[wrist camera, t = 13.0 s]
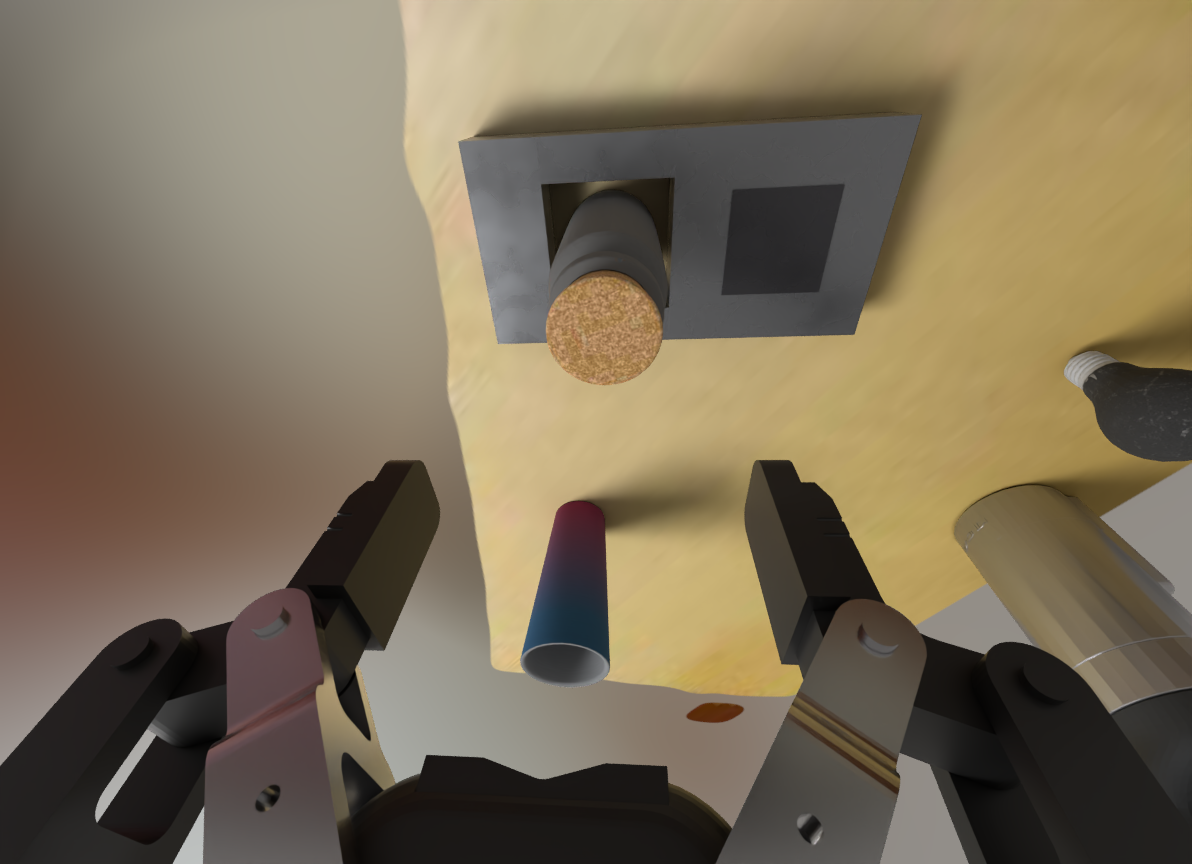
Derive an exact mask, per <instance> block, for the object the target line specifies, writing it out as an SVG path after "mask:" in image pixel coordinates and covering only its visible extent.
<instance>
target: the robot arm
mask: <svg viewBox="0 0 1192 864" xmlns="http://www.w3.org/2000/svg"><path fill="white" fill-rule="evenodd" d="M439 519H440V507H439V503H438V501H437V497H436V495H435V492H434V489H433V486H432V484H431V481H430V478H429V475H428V473H427V470H426V467H425V465H424V463H423V462H422V461H420V460H391V461H388V462H386V463H385V465H384V466H383V468H382V469H381V471H380V473H379V474H378V475H377V477H376V478H375V480H374V481H367V482H366V483H364V484H363V485H362V486H361V487H359V488H358V489H357V490H356V491H354V492H353V493H352V494H351V495H350V496H349V497H348V498H347V500H346V501H345V502H344V504H343V505H342V507H341V508H340V510H339V511H338V513H337V517H334V518H333V520H332V521H331V523H330V524H329V526H328V527H327V531H325V532H324V533H323V534H322V536H321V537H320V539H319V540H318V542H317V543H316V545H315V546H314V548H313V549H312V550H311V552H310V553H309V555H308V556H307V558H306V559H305V561H304V562H303V564H302V565H301V566H300V568H299V569H298V571H297V572H296V574H295V575H294V577H293V578H292V580H291V581H290V582H289V584H288V585H287V587H286V588H285V589H279V590H276V591H273V592H270V593H268V594H266V595H264V596H262V597H260V598H258V599H257V600H255V601H254V602H252V603H251V604H250V605H248V606H247V607H246V608H245V609H244V610H243V611H242V612H241V613H240V614H239V615H238V616H237V617H236V619H235V620H234V621H231V622H227V623H224V624H220V625H216V626H213V627H209V628H205V629H201V630H197V631H193V632H190V633H189V632H188V631H187V630H186V629H185V628H184V627H182V626H181V625H180V624H179V623H178V622H176V621H175V620H172V619H157V620H153V621H149V622H146V623H144V624H141V625H139V626H137V627H134V628H133V629H131V630H129V631H127V632H125V633H124V634H122V635H121V636H119V637H118V638H116V639H115V640H114V641H113V642H111V643H110V644H109V645H108V646H107V647H105V648H104V649H103V650H102V651H101V652H100V653H99V655H97V657H96V658H95V659H94V660H93V661H92V662H91V663H90V664H89V666H88V667H87V668H86V669H85V670H84V671H83V672H82V674H81V675H80V676H79V677H78V678H77V679H76V680H75V682H74V683H73V684H72V685H71V686H70V687H69V688H68V690H67V691H66V692H65V693H64V694H63V695H62V696H61V697H60V699H59V700H58V701H57V702H56V703H55V704H54V705H53V707H52V708H51V709H50V710H49V711H48V712H47V713H46V715H45V716H44V717H43V718H42V719H41V720H40V721H39V722H38V724H37V725H36V726H35V727H34V728H33V730H32V731H31V732H30V733H29V734H28V735H27V736H26V737H25V738H24V740H23V741H22V742H21V743H20V744H19V745H18V746H17V748H16V749H15V750H14V751H13V752H12V753H11V754H10V755H9V757H8V758H7V759H6V760H5V761H4V762H3V764H2V765H1V766H0V864H173V862H174V860H175V858H176V856H177V854H178V852H179V851H180V849H181V847H182V845H183V843H184V842H185V840H186V838H187V836H188V834H189V832H190V831H191V829H192V827H193V825H194V823H195V821H196V819H197V818H198V816H199V814H200V812H201V810H202V808H203V807H204V846H203V847H204V849H203V864H880V860H881V857H882V853H883V849H884V846H885V842H886V838H887V835H888V831H889V827H890V823H891V820H892V816H893V813H894V809H895V805H896V802H897V797H898V793H899V788H900V775H899V774H898V773H897V772H896V765H897V760H898V756H899V753H902V754H904V755H907V756H909V757H912V758H915V759H917V760H920V761H923V762H925V763H928V764H930V766H931V769H932V771H933V774H934V776H935V779H936V781H937V784H938V786H939V789H940V791H941V794H942V797H943V799H944V802H945V804H946V806H947V809H948V812H949V814H950V817H951V819H952V822H953V824H954V827H955V830H956V832H957V835H958V837H959V840H960V842H961V845H962V847H963V850H964V852H965V855H966V858H967V860H968V863H969V864H1192V614H1191V613H1190V612H1189V611H1188V610H1187V609H1185V608H1184V607H1183V606H1182V605H1181V604H1180V603H1179V602H1178V601H1177V600H1176V599H1175V598H1174V597H1172V596H1171V594H1173V593H1174V586H1173V584H1172V583H1171V582H1170V581H1169V580H1167V578H1165V577H1164V576H1163V575H1162V574H1161V573H1160V572H1159V571H1158V570H1157V569H1156V568H1155V567H1153V566H1152V565H1151V564H1150V563H1149V562H1148V561H1147V560H1146V559H1145V558H1144V557H1142V556H1141V555H1140V554H1139V553H1138V552H1137V551H1136V550H1135V549H1134V548H1133V547H1131V546H1130V545H1129V544H1128V543H1127V542H1126V541H1125V540H1124V539H1123V538H1121V537H1120V536H1119V535H1118V534H1117V533H1116V532H1115V531H1114V530H1113V529H1112V528H1110V527H1109V526H1108V525H1107V524H1106V523H1105V522H1104V521H1103V520H1101V518H1099V517H1098V516H1097V515H1096V514H1095V513H1094V512H1093V511H1092V510H1091V509H1090V508H1088V507H1087V506H1086V505H1085V504H1084V503H1083V502H1082V501H1081V500H1080V499H1078V498H1077V497H1066V496H1064V495H1063V494H1062V493H1061V492H1059V491H1058V490H1056V489H1053V488H1051V487H1047V486H1041V485H1027V486H1019V487H1014V488H1010V489H1006V490H1002V491H1000V492H997V493H994V494H992V495H990V496H988V497H986V498H984V499H982V500H980V501H978V502H977V503H975V504H974V505H972V506H971V507H970V508H969V509H967V510H966V511H965V512H964V513H963V514H962V515H961V517H960V518H959V519H958V521H957V523H956V525H955V529H954V535H955V539H956V540H957V542H958V543H959V544H960V546H961V547H962V548H963V550H964V551H965V553H966V554H967V555H968V557H969V558H970V559H971V561H972V562H973V564H974V565H975V566H976V568H977V569H978V570H979V572H980V573H981V575H982V576H983V578H984V579H985V580H986V582H987V583H988V584H989V586H990V587H991V589H992V590H993V591H994V593H995V594H996V595H997V597H998V598H999V599H1000V601H1001V602H1002V604H1003V605H1004V606H1005V608H1006V609H1007V610H1008V612H1009V613H1010V615H1011V616H1012V617H1013V619H1014V620H1015V621H1016V623H1017V624H1018V625H1019V627H1020V628H1021V630H1022V631H1023V632H1024V634H1025V635H1026V636H1027V638H1028V639H1029V640H1030V642H1031V643H1032V644H1033V646H1031V645H1027V644H1024V643H1017V642H1004V643H999V644H997V645H995V646H993V647H992V648H991V649H990V650H989V651H988V652H987V653H986V654H981V653H978V652H974V651H972V650H968V649H965V648H961V647H958V646H955V645H951V644H948V643H945V642H942V641H938V640H935V639H933V638H930V637H927V636H925V635H923V634H921V633H919V631H918V630H917V628H916V627H915V626H914V625H913V624H912V622H911V621H910V620H909V619H907V618H906V617H905V616H904V615H903V614H901V613H900V612H899V611H897V610H895V609H894V608H892V607H890V606H888V605H886V604H885V603H884V601H883V599H882V597H881V596H880V594H879V591H878V589H877V587H876V585H875V583H874V581H873V579H872V577H871V575H870V573H869V571H868V569H867V567H866V565H865V563H864V561H863V559H862V557H861V555H860V553H859V551H858V549H857V547H856V545H855V543H854V541H853V539H852V538H850V536H849V534H850V533H849V531H848V529H847V527H846V525H845V523H844V522H842V517H841V515H840V513H839V511H838V509H837V507H836V505H835V503H834V501H833V499H832V498H831V497H830V496H829V495H828V494H827V493H825V492H824V491H823V490H822V489H821V488H820V487H819V486H818V485H817V484H816V483H815V482H801V481H800V479H799V477H798V475H797V472H796V470H795V468H794V466H793V464H792V462H791V461H790V460H756V461H755V463H754V465H753V469H752V474H751V479H750V484H749V489H748V494H747V499H746V504H745V528H746V533H747V537H748V540H749V544H750V548H751V552H752V555H753V559H754V563H755V567H756V570H757V574H758V578H759V582H760V585H761V589H762V593H763V597H764V600H765V604H766V608H767V612H768V615H769V619H770V623H771V627H772V630H773V634H774V638H775V642H776V645H777V649H778V653H779V657H780V660H781V664H789V665H799V667H800V670H801V673H802V677H803V682H802V684H801V686H800V689H799V691H798V693H797V695H796V697H795V699H794V701H793V703H792V705H791V707H790V709H789V711H788V713H787V715H786V717H785V719H784V721H783V723H782V725H781V728H780V730H779V732H778V734H777V736H776V738H775V740H774V742H773V744H772V746H771V749H770V751H769V753H768V755H767V757H766V759H765V761H764V763H763V766H762V768H761V769H760V772H759V774H758V776H757V778H756V780H755V782H754V784H753V786H752V788H751V790H750V793H749V795H748V797H747V799H746V801H745V803H744V805H743V807H742V809H741V812H740V814H739V816H738V818H737V820H736V822H735V824H734V826H733V828H731V827H730V826H729V824H728V823H727V822H726V821H725V820H724V819H723V818H722V817H721V816H720V815H719V814H718V813H717V812H716V811H714V809H713V808H711V807H710V806H709V805H708V804H706V803H705V802H703V801H702V800H701V799H699V798H698V797H697V796H695V795H693V794H692V793H690V792H688V791H686V790H684V789H682V788H680V787H678V786H675V785H673V784H670V783H668V773H667V766H651V765H629V764H608V763H606V764H602V765H598V766H595V767H591V768H587V769H583V770H579V771H576V772H572V773H568V774H564V775H561V776H557V777H553V778H549V779H537V778H534V777H531V776H529V775H526V774H524V773H521V772H519V771H516V770H514V769H511V768H509V767H506V766H503V765H501V764H498V763H496V762H493V761H491V760H488V759H486V758H479V757H457V756H438V755H426V758H425V761H424V764H423V768H422V771H421V773H420V774H417V775H414V776H412V777H409V778H407V779H404V780H402V781H400V782H398V783H395V780H394V777H393V775H392V772H391V769H390V767H389V765H388V763H387V761H386V759H385V757H384V755H383V752H382V750H381V747H380V744H379V740H378V736H377V733H376V729H375V725H374V721H373V717H372V713H371V709H370V705H369V701H368V697H367V693H366V689H365V685H364V681H363V677H362V673H361V670H360V667H359V666H358V662H359V660H360V658H361V656H362V654H363V652H364V650H377V651H379V650H380V651H384V650H385V648H386V645H387V643H388V641H389V639H390V636H391V634H392V632H393V629H394V627H395V625H396V623H397V620H398V618H399V616H400V613H401V611H402V609H403V607H404V604H405V602H406V600H407V597H408V595H409V593H410V590H411V588H412V586H413V583H414V581H415V579H416V577H417V574H418V572H419V569H420V567H421V565H422V563H423V560H424V558H425V556H426V554H427V551H428V549H429V547H430V544H431V542H432V540H433V537H434V535H435V533H436V531H437V528H438V525H439ZM146 729H148V730H149V731H151V732H153V733H154V734H156V737H155V738H154V740H153V741H152V743H151V744H150V746H149V747H148V749H147V750H146V752H145V753H144V755H143V756H142V758H141V759H140V761H139V762H138V763H137V765H136V766H135V768H134V769H133V771H132V772H131V774H130V775H129V777H128V778H127V780H126V781H125V783H124V784H123V786H122V787H121V788H120V790H119V791H118V793H117V794H116V796H115V797H114V799H113V800H112V802H111V803H110V805H109V806H108V808H107V809H106V811H105V812H104V814H103V815H102V816H101V818H100V820H99V821H98V823H97V822H96V819H95V810H96V806H97V803H98V801H99V798H100V796H101V794H102V793H103V791H104V790H105V788H106V787H107V785H108V784H109V782H110V781H111V780H112V778H113V777H114V775H115V774H116V772H117V771H118V769H119V768H120V767H121V765H122V764H123V762H124V761H125V759H126V758H127V757H128V755H129V754H130V752H131V751H132V749H133V748H134V746H135V745H136V744H137V742H138V741H139V740H140V738H141V737H142V735H143V734H144V732H145V731H146Z"/></svg>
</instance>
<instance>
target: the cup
mask: <svg viewBox="0 0 1192 864" xmlns="http://www.w3.org/2000/svg"><path fill="white" fill-rule="evenodd" d="M520 662H521V666H522V668H523V670H524V671H525V672H526V673H527V674H528V675H529V676H530V677H532V678H534V679H536V680H538V681H540V682H543V683H546V684H550V685H554V686H559V687H582V686H588V685H592V684H595V683H597V682H599V681H601V680H603V679H604V678H605V677H606V676H607V675H608V673H609V670H610V656H609V627H608V599H607V570H606V541H605V518H604V514H603V512H602V511H601V510H600V509H599V508H598V507H597V506H595V505H593V504H591V503H588V502H584V501H573V502H569V503H566V504H564V505H562V506H561V507H560V508H559V509H558V511H557V512H556V516H555V520H554V524H553V528H552V532H551V537H550V541H549V545H548V549H547V553H546V557H545V561H544V565H543V569H542V573H541V578H540V582H539V586H538V590H537V594H536V598H535V602H534V606H533V610H532V615H531V619H530V623H529V627H528V631H527V635H526V639H525V643H524V647H523V652H522V656H521V660H520Z"/></svg>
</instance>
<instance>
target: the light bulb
mask: <svg viewBox="0 0 1192 864" xmlns="http://www.w3.org/2000/svg"><path fill="white" fill-rule="evenodd" d="M1064 375H1065V377H1066V378H1067V379H1068V380H1069V381H1070V382H1072V383H1073V384H1075V385H1076V386H1078V387H1080V388H1081V389H1082V390H1083V391H1084V393H1085V395H1086V396H1087V397H1088V398H1089V399H1090V400H1091V401H1092V403H1093V405H1094V407H1095V412H1096V418H1097V422H1098V424H1099V427H1100V429H1101V430H1102V432H1103V434H1104V435H1105V436H1106V437H1107V439H1108V440H1109V441H1110V442H1111V443H1113V444H1114V445H1116V446H1117V447H1119V448H1120V449H1121V450H1123V451H1125V452H1127V453H1129V454H1132V455H1135V456H1137V457H1141V458H1144V459H1150V460H1156V461H1162V462H1165V461H1188V460H1192V371H1190V370H1183V369H1173V368H1143V367H1138V366H1135V365H1132V364H1129V363H1123V362H1119V361H1117V360H1116V359H1114V358H1112V357H1110V356H1109V355H1106V354H1102V353H1101V352H1098V351H1089V352H1085V353H1082V354H1080V355H1077V356H1074V357H1073V358H1071V359H1070V360H1069V362H1068V364H1067V365H1066V368H1065V370H1064Z"/></svg>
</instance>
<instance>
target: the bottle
mask: <svg viewBox="0 0 1192 864" xmlns="http://www.w3.org/2000/svg"><path fill="white" fill-rule="evenodd" d="M547 293H548V305H547V321H546V339H547V343H548V346H549V349H550V351H551V353H552V355H553V357H554V359H555V360H556V361H557V363H558V364H559V365H560V366H561V367H562V368H563V369H564V370H565V371H566V372H568V373H569V374H570V375H572V376H573V377H575V378H577V379H579V380H581V381H584V382H588V383H591V384H597V385H612V384H619V383H623V382H626V381H628V380H630V379H633V378H635V377H636V376H638V375H639V374H641V373H642V372H643V371H645V370H646V369H647V368H648V367H649V366H650V364H651V363H652V362H653V360H654V359H655V357H656V355H657V353H658V352H659V349H660V346H661V343H662V337H663V322H664V309H665V306H666V302H667V296H668V282H667V276H666V270H665V265H664V261H663V256H662V252H661V247H660V243H659V239H658V235H657V231H656V227H655V224H654V221H653V218H652V216H651V214H650V212H649V210H648V209H647V207H646V206H645V205H644V204H643V203H642V202H641V201H640V200H639V199H637V198H636V197H635V196H633V195H631V194H629V193H626V192H623V191H619V190H605V191H601V192H598V193H596V194H594V195H591V196H590V197H588V198H587V199H586V200H584V201H583V202H582V203H581V204H580V205H579V207H578V208H577V209H576V211H575V212H574V214H573V216H572V218H571V220H570V222H569V224H568V227H567V229H566V231H565V234H564V236H563V239H562V241H561V244H560V246H559V249H558V251H557V254H556V256H555V259H554V261H553V264H552V267H551V270H550V274H549V278H548V285H547Z"/></svg>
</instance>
